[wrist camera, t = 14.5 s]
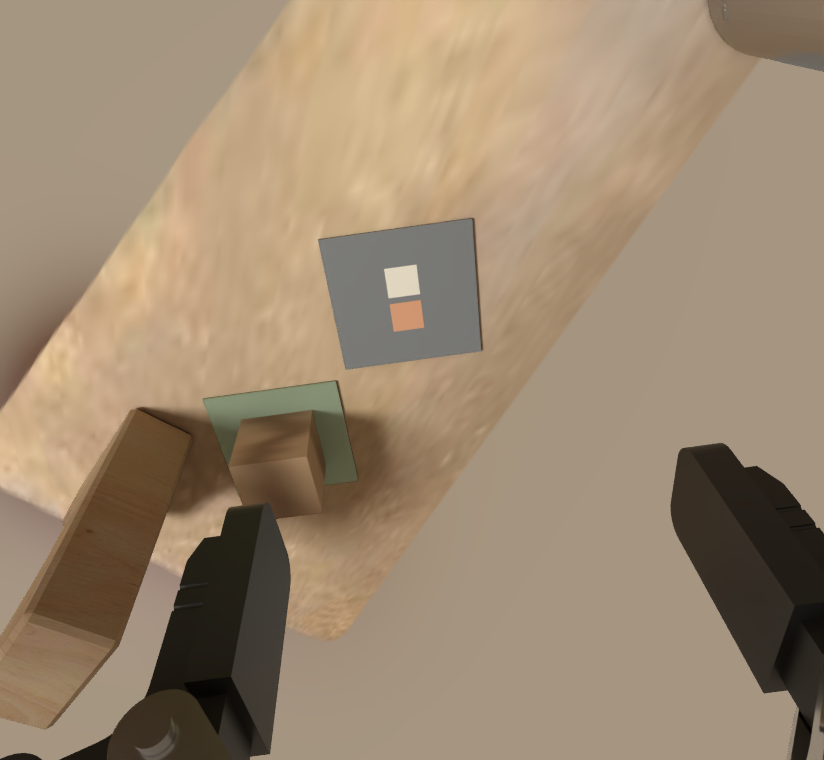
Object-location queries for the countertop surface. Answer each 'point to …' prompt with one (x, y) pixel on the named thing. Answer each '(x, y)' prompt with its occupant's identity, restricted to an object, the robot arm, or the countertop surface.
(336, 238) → the tile
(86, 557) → the decorative block
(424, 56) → the countertop surface
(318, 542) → the countertop surface
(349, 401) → the countertop surface
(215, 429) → the mat
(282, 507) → the walnut block
